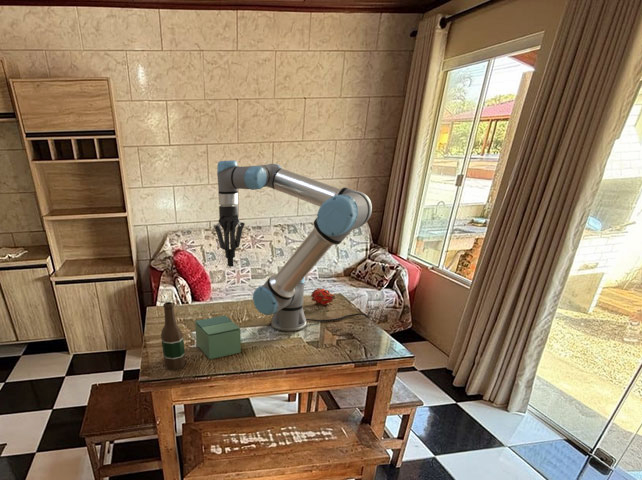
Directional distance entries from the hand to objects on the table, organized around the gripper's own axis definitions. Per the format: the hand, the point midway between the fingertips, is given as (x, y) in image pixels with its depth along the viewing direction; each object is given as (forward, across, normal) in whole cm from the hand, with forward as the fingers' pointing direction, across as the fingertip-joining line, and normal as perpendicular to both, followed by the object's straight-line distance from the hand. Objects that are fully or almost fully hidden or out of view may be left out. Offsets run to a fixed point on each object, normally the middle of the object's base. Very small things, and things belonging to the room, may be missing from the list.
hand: (230, 265), depth 170 cm
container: (+26, +15, +20) cm, 36 cm away
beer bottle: (+27, +35, +26) cm, 51 cm away
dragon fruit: (+27, -50, -3) cm, 57 cm away
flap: (+16, +15, +16) cm, 28 cm away
